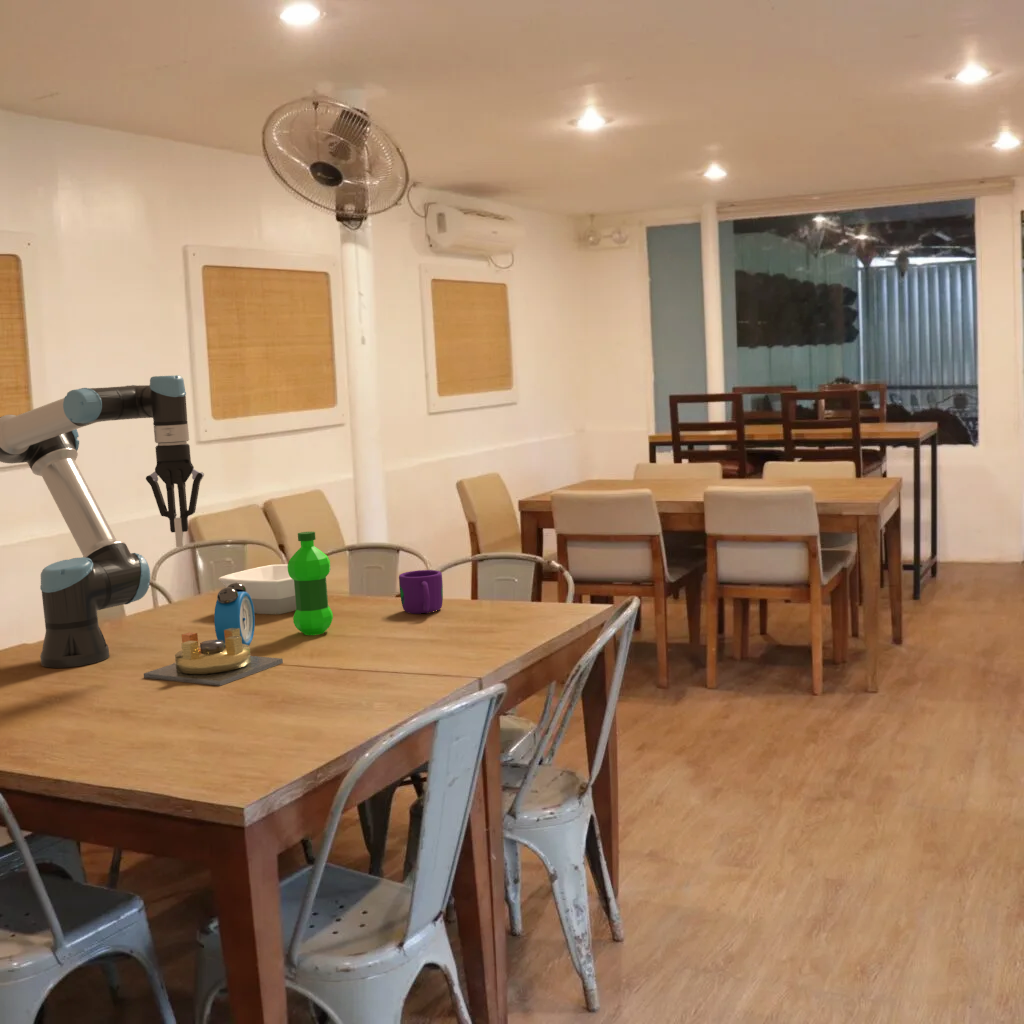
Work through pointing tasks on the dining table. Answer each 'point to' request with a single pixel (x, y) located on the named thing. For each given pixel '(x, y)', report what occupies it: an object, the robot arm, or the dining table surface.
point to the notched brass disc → (212, 653)
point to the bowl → (267, 588)
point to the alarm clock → (234, 612)
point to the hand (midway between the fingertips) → (180, 546)
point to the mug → (421, 591)
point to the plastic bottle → (310, 586)
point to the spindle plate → (214, 678)
